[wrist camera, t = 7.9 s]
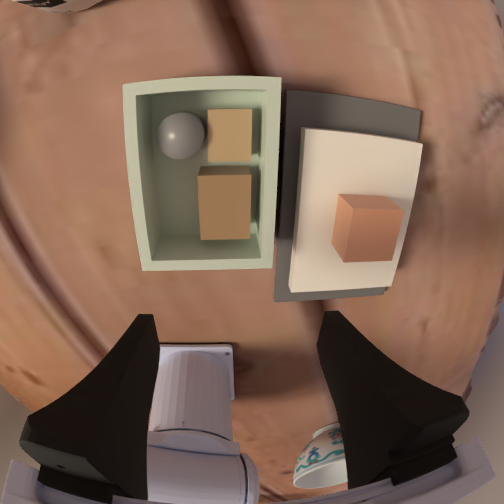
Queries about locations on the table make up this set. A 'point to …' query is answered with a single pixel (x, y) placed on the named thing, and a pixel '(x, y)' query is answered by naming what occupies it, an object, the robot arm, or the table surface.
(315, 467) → the chinaware
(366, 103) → the mat
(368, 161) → the lid
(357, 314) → the table surface
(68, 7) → the supplement can
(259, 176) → the storage box
